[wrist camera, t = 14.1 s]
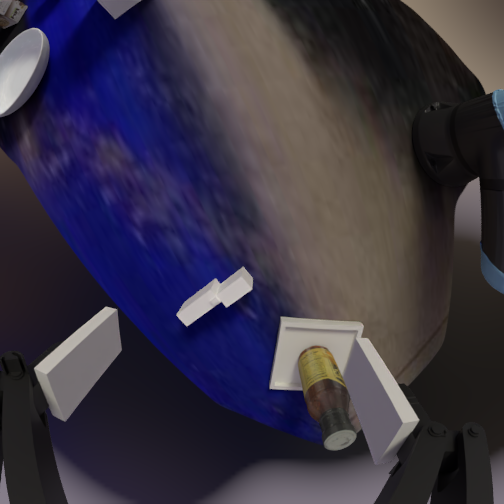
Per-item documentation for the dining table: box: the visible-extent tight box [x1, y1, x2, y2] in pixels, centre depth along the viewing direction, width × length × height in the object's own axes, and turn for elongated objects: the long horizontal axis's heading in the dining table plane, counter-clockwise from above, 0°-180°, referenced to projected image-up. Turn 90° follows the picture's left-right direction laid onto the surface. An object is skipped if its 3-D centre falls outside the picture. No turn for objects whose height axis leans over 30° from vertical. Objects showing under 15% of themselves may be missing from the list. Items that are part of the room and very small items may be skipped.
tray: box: [269, 317, 364, 390], centre depth 44 cm, size 14×14×2 cm
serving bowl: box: [0, 28, 49, 117], centre depth 31 cm, size 21×21×7 cm
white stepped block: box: [177, 267, 253, 326], centre depth 41 cm, size 15×11×6 cm
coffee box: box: [0, 0, 28, 29], centre depth 21 cm, size 9×6×16 cm
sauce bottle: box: [298, 345, 356, 450], centre depth 35 cm, size 6×6×20 cm
